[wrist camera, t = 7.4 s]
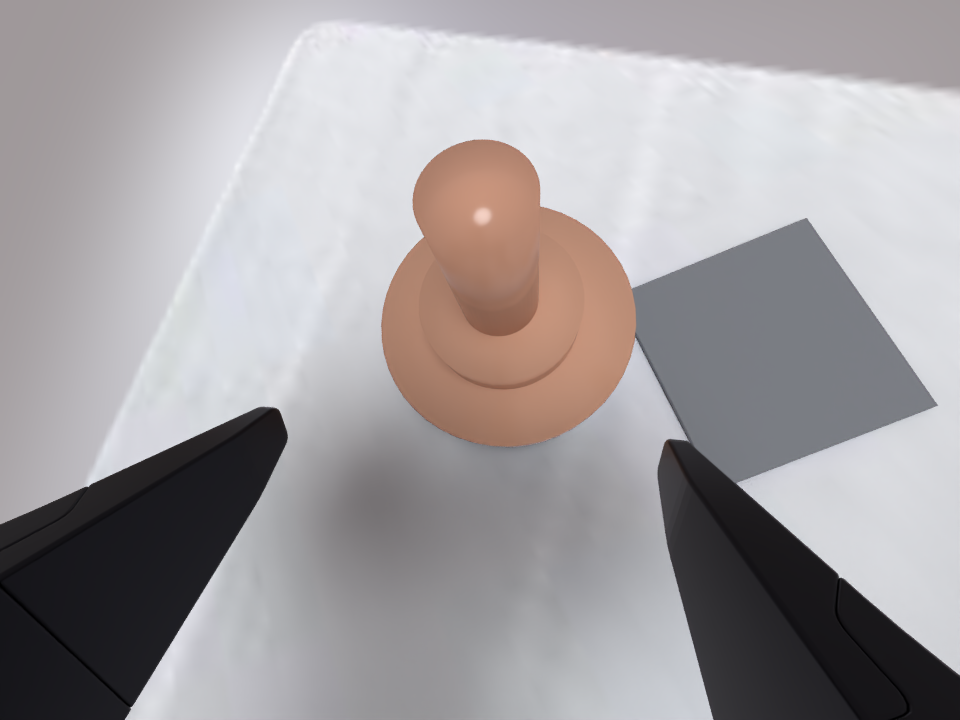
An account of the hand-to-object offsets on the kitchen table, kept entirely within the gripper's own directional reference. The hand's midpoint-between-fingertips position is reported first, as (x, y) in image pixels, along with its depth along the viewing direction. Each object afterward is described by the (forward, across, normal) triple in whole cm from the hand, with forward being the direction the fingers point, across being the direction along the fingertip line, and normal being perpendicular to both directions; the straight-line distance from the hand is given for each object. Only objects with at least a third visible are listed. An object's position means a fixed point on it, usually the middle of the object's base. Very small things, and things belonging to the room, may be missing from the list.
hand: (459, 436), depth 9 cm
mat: (+14, -13, +4) cm, 19 cm away
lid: (+10, 0, +2) cm, 10 cm away
